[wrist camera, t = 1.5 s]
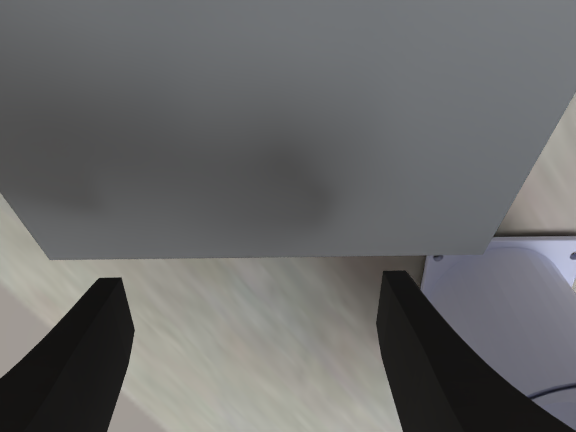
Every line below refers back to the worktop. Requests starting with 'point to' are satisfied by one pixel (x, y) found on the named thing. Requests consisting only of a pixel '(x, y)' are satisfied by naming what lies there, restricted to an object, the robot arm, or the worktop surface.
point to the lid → (275, 123)
